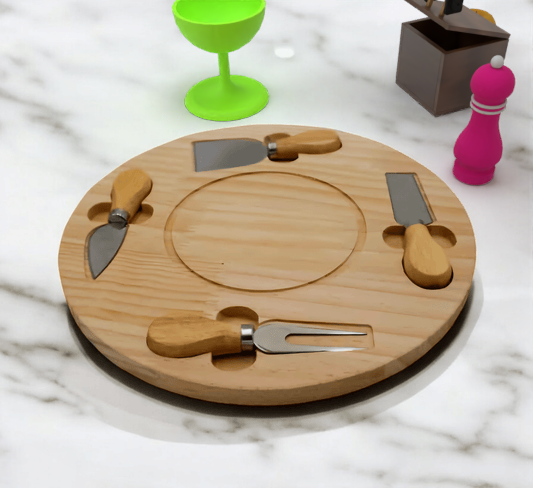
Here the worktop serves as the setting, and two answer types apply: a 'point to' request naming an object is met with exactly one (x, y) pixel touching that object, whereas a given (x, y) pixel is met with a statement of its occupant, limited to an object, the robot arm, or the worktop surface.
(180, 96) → the worktop surface
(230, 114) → the wineglass
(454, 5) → the robot arm
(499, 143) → the pepper mill
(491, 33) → the lid
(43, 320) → the worktop surface
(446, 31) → the chest
